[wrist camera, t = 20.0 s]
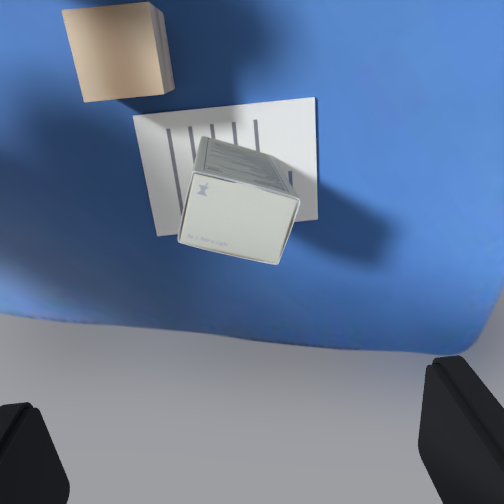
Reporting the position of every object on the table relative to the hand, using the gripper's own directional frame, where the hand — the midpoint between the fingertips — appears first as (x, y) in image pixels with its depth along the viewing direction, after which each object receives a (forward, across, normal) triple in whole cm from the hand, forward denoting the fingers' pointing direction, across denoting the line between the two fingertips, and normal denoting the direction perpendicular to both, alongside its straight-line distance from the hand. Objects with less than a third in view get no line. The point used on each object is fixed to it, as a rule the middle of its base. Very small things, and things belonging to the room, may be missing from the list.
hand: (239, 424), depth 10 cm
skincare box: (+26, 0, 0) cm, 26 cm away
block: (+26, +6, -9) cm, 29 cm away
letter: (+26, 0, 0) cm, 26 cm away
